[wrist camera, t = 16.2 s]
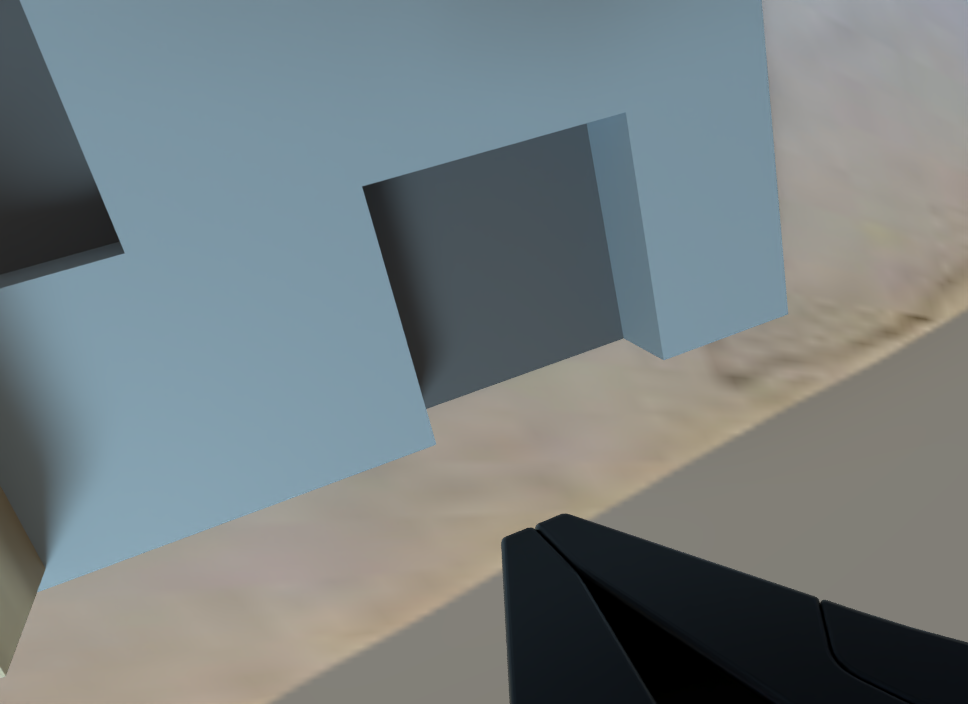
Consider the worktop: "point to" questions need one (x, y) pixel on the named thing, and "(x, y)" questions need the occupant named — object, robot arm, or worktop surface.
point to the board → (345, 232)
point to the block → (15, 580)
